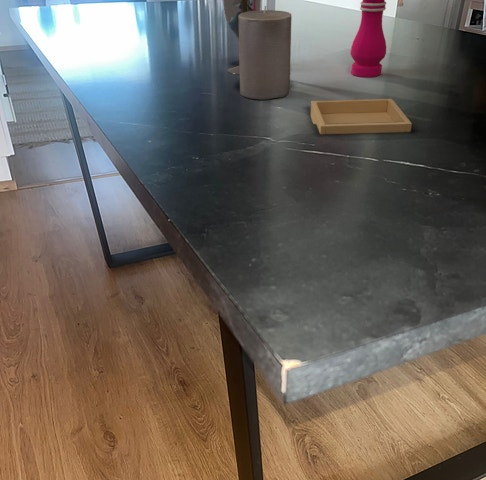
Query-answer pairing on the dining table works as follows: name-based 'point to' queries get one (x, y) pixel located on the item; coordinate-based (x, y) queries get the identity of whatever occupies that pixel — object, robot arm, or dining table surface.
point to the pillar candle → (264, 53)
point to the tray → (358, 116)
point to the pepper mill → (369, 40)
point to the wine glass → (233, 5)
